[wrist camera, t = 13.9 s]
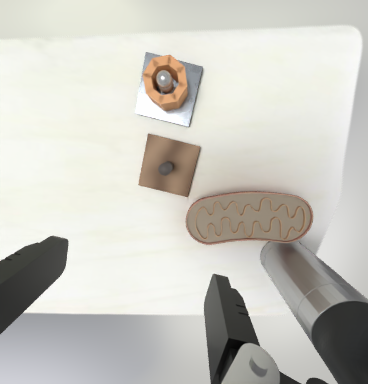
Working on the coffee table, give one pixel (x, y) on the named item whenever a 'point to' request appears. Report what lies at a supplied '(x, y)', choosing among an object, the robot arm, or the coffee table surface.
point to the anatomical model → (249, 218)
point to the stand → (168, 165)
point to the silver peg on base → (168, 87)
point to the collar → (177, 74)
